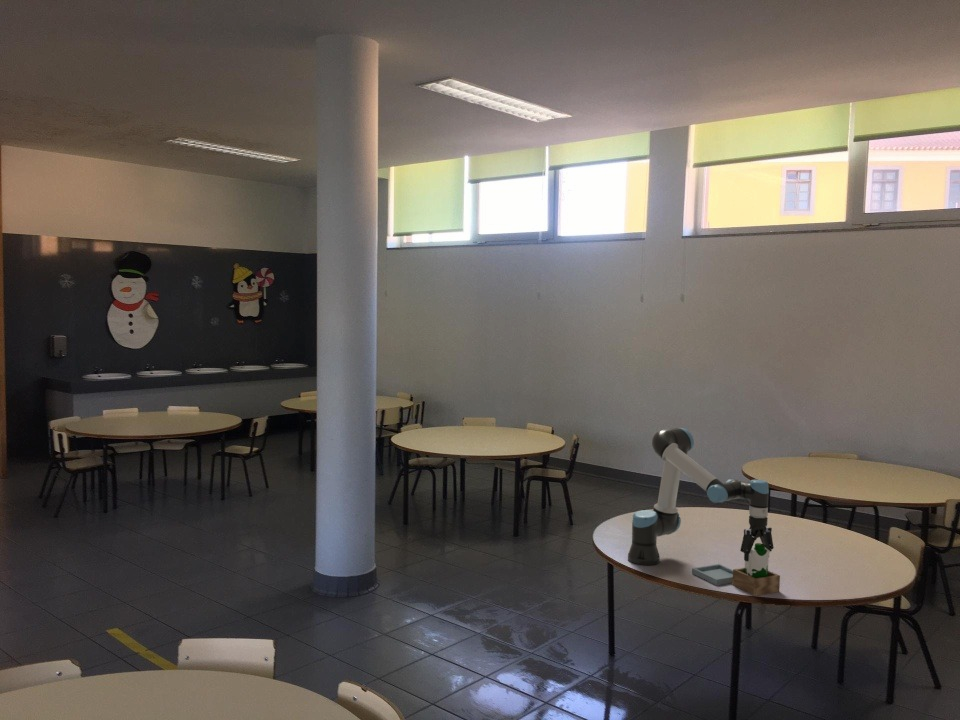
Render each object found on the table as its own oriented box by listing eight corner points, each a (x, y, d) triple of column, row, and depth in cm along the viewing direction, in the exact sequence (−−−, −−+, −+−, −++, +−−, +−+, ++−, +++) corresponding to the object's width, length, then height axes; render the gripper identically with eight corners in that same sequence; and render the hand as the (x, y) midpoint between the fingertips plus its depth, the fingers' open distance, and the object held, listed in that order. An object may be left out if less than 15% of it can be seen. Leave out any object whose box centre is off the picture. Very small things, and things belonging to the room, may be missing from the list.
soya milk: (749, 591, 309) (752, 546, 308) (741, 584, 318) (743, 539, 317) (770, 592, 309) (772, 546, 308) (761, 584, 318) (763, 540, 317)
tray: (716, 585, 316) (716, 579, 316) (691, 573, 331) (692, 568, 331) (744, 580, 323) (744, 575, 323) (719, 569, 337) (719, 563, 337)
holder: (755, 595, 305) (756, 579, 304) (732, 584, 317) (733, 569, 317) (779, 591, 310) (779, 575, 310) (755, 580, 323) (756, 565, 322)
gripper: (745, 520, 304) (743, 572, 305) (784, 515, 313) (782, 566, 314) (732, 516, 311) (730, 567, 312) (770, 511, 320) (768, 560, 321)
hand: (756, 566), depth 313 cm, fingers closed on soya milk, 9 cm apart
